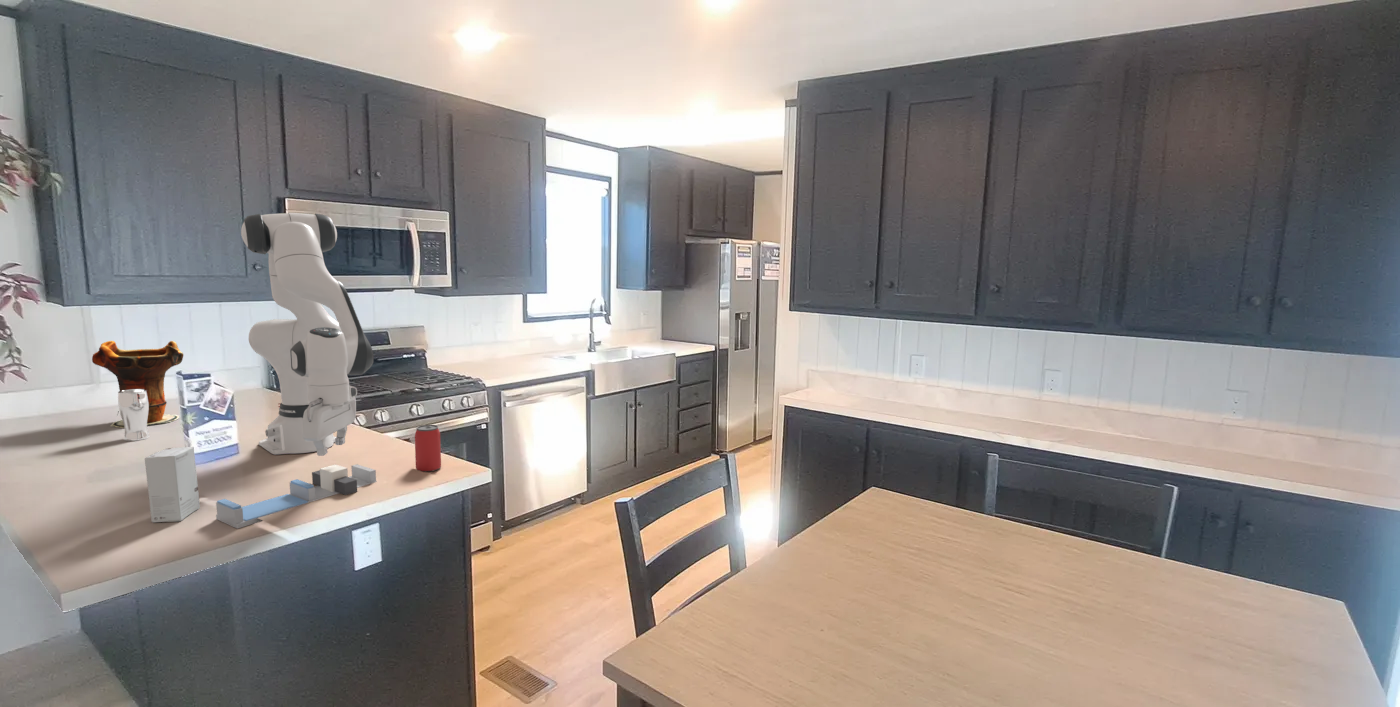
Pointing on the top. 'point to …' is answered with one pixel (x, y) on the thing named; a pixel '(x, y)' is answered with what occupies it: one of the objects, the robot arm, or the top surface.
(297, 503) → the slider rail
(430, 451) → the beer can
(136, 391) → the beer glass
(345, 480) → the grey post with collar
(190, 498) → the skincare box
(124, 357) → the decorative vase
